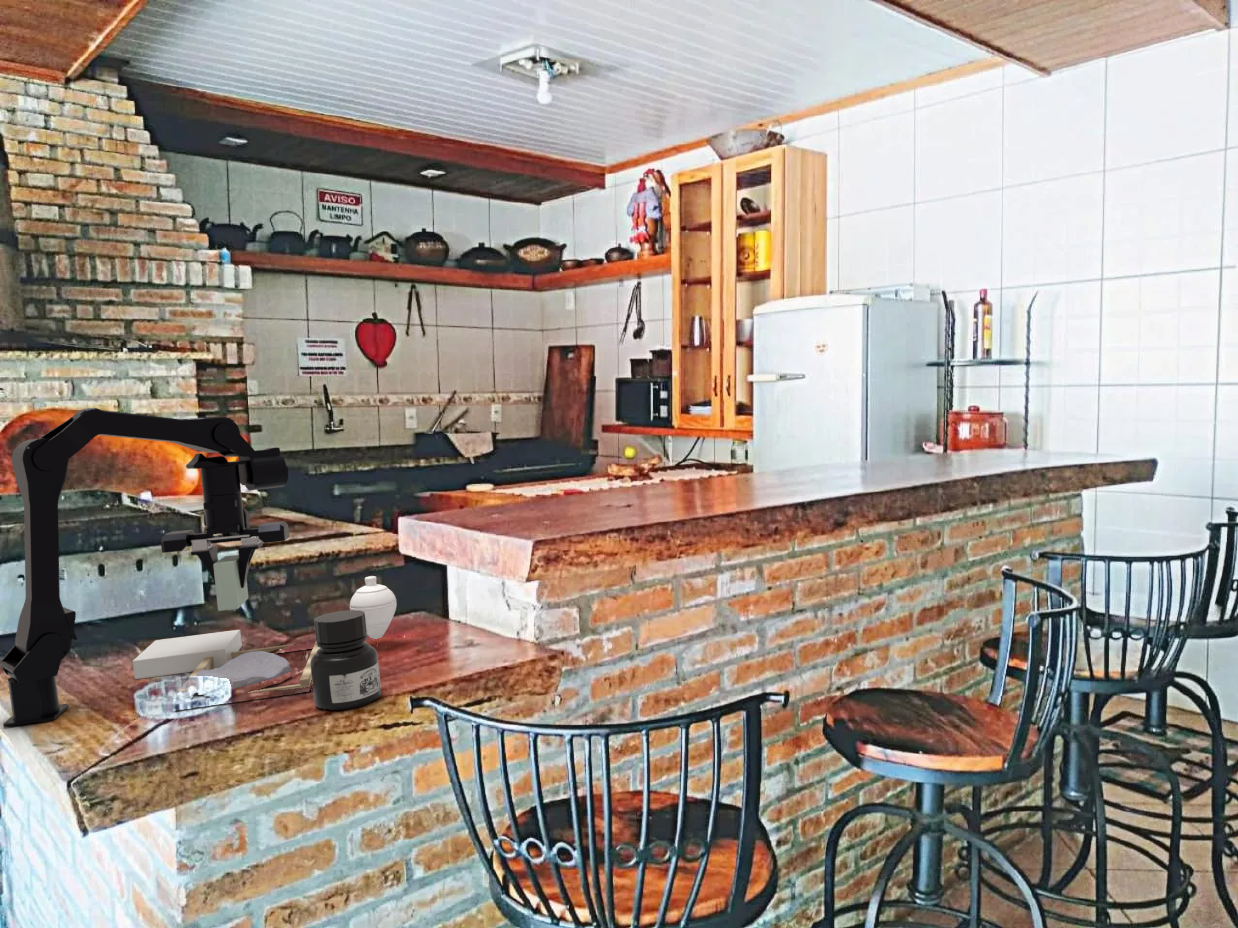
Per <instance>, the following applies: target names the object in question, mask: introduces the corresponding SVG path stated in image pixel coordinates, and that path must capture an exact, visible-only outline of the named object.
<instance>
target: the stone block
mask: <svg viewBox="0 0 1238 928" xmlns="http://www.w3.org/2000/svg"><path fill="white" fill-rule="evenodd" d="M290 671H291V672H292V668H291V666H290V663H289V661H288V660H287V659H286V658H285V657H283V656H280V655H279V654H274V653H269V652H265V651H256V652H248V653H245V654H242V655H240V656H238V657H236V658H234V659H231V660H229V661H228V662H227V663H226V664H224V665H223V666H222V667H220V668H215V669H211V670H205V669H203V670H201V671H199V672H198V673H197V674H196V676H213V677H218V678H227V679H229V681H230V684H231V687H232V688H233V689H236V688H240V687H243V686H247V685H250V684H255V683H259V682H262V681H266V680H269V679H272V678H277V677H279V676H280V675H283V674H285V673H288V672H290Z"/></svg>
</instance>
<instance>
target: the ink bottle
mask: <svg viewBox="0 0 1238 928" xmlns="http://www.w3.org/2000/svg"><path fill="white" fill-rule="evenodd" d="M313 622H314V623H313V624H314V630H315V631H314V633H315V641H316V642H317V643H316V644H317V646H318V647H320V649H318V650H317V652H316V654H315V655H314V656H313V657H312V658H311V662H310V666H311V675H312V684H313V686H312V691H313V699H314V700H313V701H314V702H313V703H314V704H315V706H316V707H317V708H318V707H319V709H321V708H323V709H322V710H326V709H329V710H330V711H342V710H344V711H345V710H350V709H355V708H358V707H363V706H364V705H367V704H370V703H372V702H374V701H376V700H378V698H380V697H381V695H382V686H381V675H380V667H379V658H378V657H379V656H378V651H377V649H375V647H374V646H373V645H370V644H369V642H367V640H368V635H367V629H366V619H365V613H364V611H360V610H350V609H349V610H340V611H333V612H329V613H324V614H322V615H318V616H317V617H315V618H314V619H313Z"/></svg>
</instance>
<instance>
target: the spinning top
mask: <svg viewBox="0 0 1238 928" xmlns="http://www.w3.org/2000/svg"><path fill="white" fill-rule="evenodd" d="M364 583H365V585H363V586H361V587H360V588H358V589H356V590H355V592H354V594H353V595H352V597H351V599H350V601H349V610H360V611H364V613H365V619H366V629H367V637H369V638H373V639H378V638H381V637H383V636H384V634H385V633H386V631H387V630H388V628H389V627H390V624H391V623H392V622H391V621H392V620H393V618H394V616H395V613H396V610H397V598H396V595H395V594H394V592H393V591H392V590H391V589H389V587H388V586H386V585H383V584H379V583H377V576H374V575H370V576H366V577H365V578H364ZM373 639H372V640H373ZM381 639H382V638H381Z"/></svg>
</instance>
